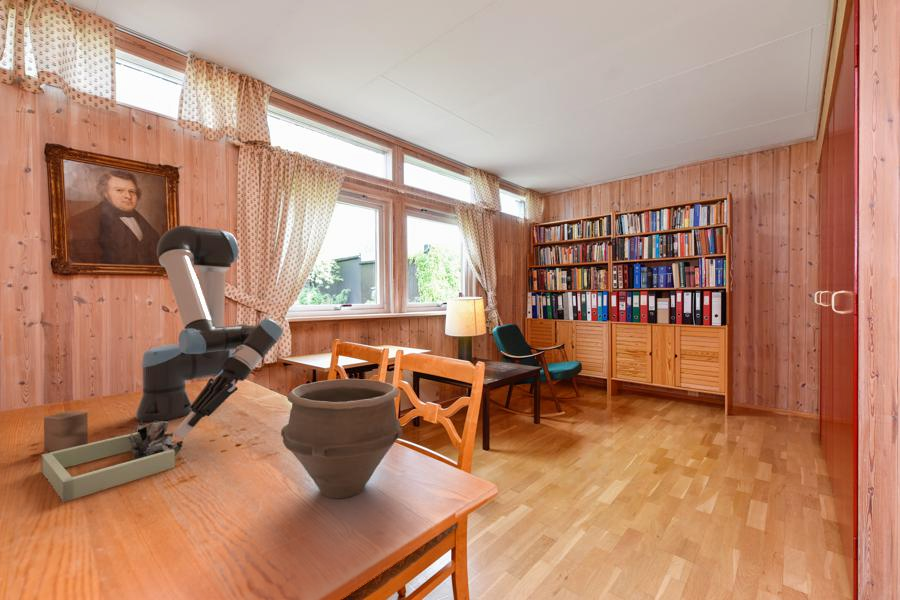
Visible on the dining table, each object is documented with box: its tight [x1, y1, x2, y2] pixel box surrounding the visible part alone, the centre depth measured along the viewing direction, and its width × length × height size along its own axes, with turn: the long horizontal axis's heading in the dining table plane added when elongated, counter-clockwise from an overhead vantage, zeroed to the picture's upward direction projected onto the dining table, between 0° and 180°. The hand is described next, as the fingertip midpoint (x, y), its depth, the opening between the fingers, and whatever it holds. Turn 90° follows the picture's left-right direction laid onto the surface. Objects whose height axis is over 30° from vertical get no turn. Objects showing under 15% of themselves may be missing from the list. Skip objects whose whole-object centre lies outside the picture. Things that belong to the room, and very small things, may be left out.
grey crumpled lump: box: [128, 419, 184, 460], centre depth 99 cm, size 12×11×15 cm
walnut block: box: [43, 410, 89, 453], centre depth 102 cm, size 6×6×9 cm
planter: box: [280, 378, 404, 500], centre depth 82 cm, size 25×24×22 cm
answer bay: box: [41, 431, 176, 503], centre depth 90 cm, size 19×22×4 cm
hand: (177, 436), depth 101 cm, fingers closed
